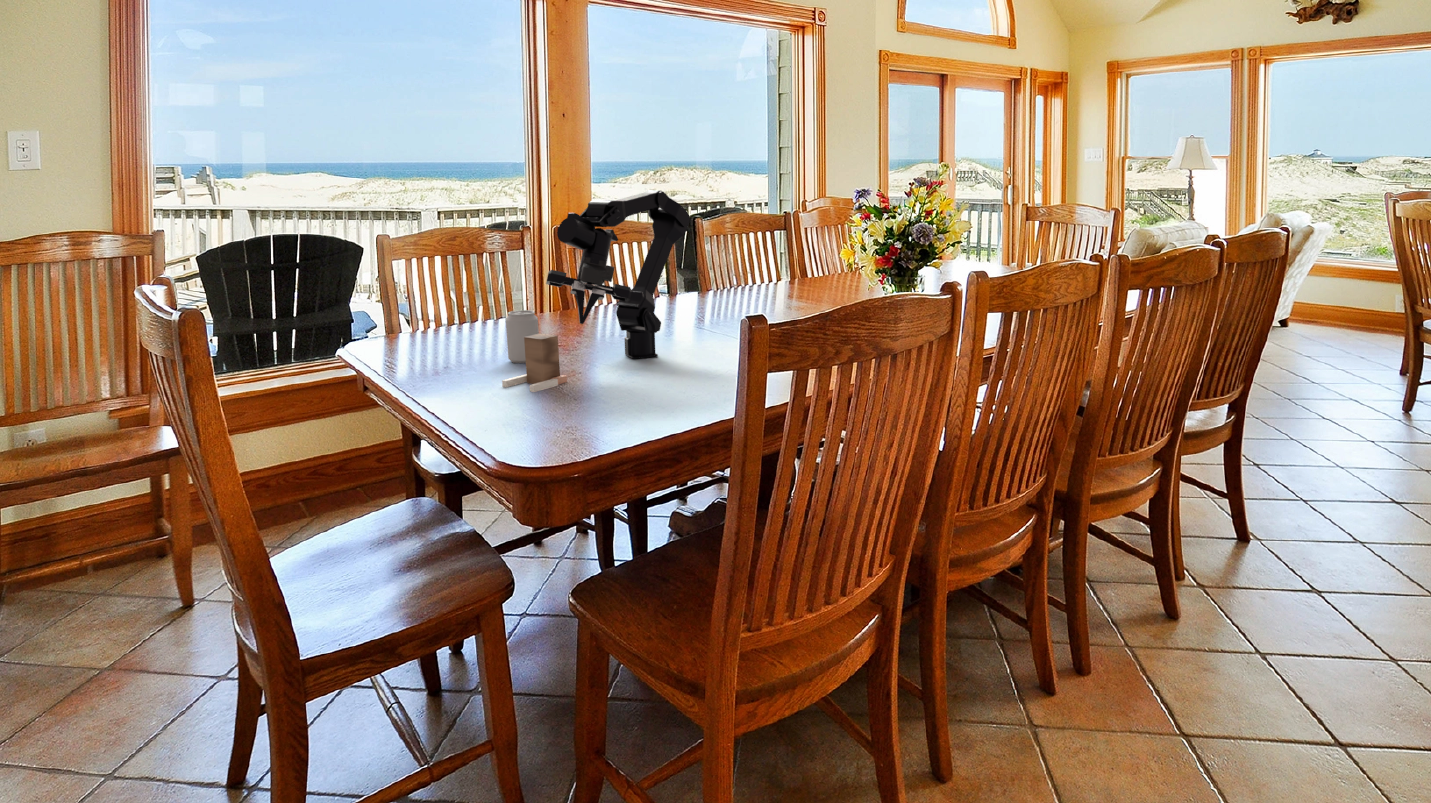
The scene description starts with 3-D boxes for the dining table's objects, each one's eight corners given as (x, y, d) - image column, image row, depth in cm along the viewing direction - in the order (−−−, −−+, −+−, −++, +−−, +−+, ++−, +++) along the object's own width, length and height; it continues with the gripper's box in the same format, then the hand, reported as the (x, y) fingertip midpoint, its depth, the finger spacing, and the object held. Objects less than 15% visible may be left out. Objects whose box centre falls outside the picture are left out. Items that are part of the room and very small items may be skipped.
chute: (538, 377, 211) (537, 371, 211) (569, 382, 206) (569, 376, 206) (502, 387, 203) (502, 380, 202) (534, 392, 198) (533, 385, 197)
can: (533, 365, 224) (530, 314, 221) (503, 364, 226) (499, 313, 223) (545, 358, 231) (542, 309, 228) (515, 357, 233) (512, 308, 230)
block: (543, 378, 209) (541, 333, 207) (560, 381, 207) (557, 335, 204) (527, 382, 206) (524, 337, 203) (543, 385, 203) (540, 339, 200)
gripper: (554, 240, 204) (540, 311, 204) (640, 259, 208) (626, 329, 207) (553, 248, 215) (539, 316, 215) (634, 266, 219) (621, 333, 218)
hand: (581, 323), depth 213 cm, fingers closed
